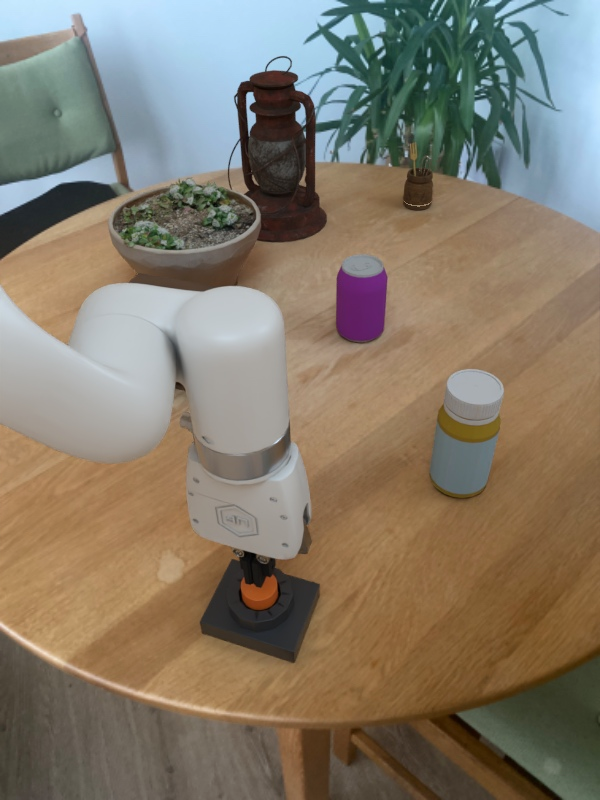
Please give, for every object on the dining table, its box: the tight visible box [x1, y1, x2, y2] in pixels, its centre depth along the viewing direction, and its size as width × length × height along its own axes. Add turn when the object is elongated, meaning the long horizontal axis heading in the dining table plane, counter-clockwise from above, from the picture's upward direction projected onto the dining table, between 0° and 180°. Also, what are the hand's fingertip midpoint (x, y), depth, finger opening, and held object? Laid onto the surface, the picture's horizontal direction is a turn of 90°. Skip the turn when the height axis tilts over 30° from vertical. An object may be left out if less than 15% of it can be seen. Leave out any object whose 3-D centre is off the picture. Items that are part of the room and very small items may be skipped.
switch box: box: [199, 558, 321, 664], centre depth 69 cm, size 10×8×4 cm
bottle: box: [428, 368, 505, 499], centre depth 78 cm, size 7×7×15 cm
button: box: [241, 574, 278, 610], centre depth 67 cm, size 4×4×2 cm
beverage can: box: [335, 253, 389, 343], centre depth 104 cm, size 8×8×12 cm
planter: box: [107, 177, 261, 287], centre depth 115 cm, size 26×25×15 cm
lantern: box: [227, 55, 328, 243], centre depth 128 cm, size 19×19×30 cm
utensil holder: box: [402, 141, 434, 211], centre depth 138 cm, size 6×6×12 cm
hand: (259, 573), depth 65 cm, fingers closed
